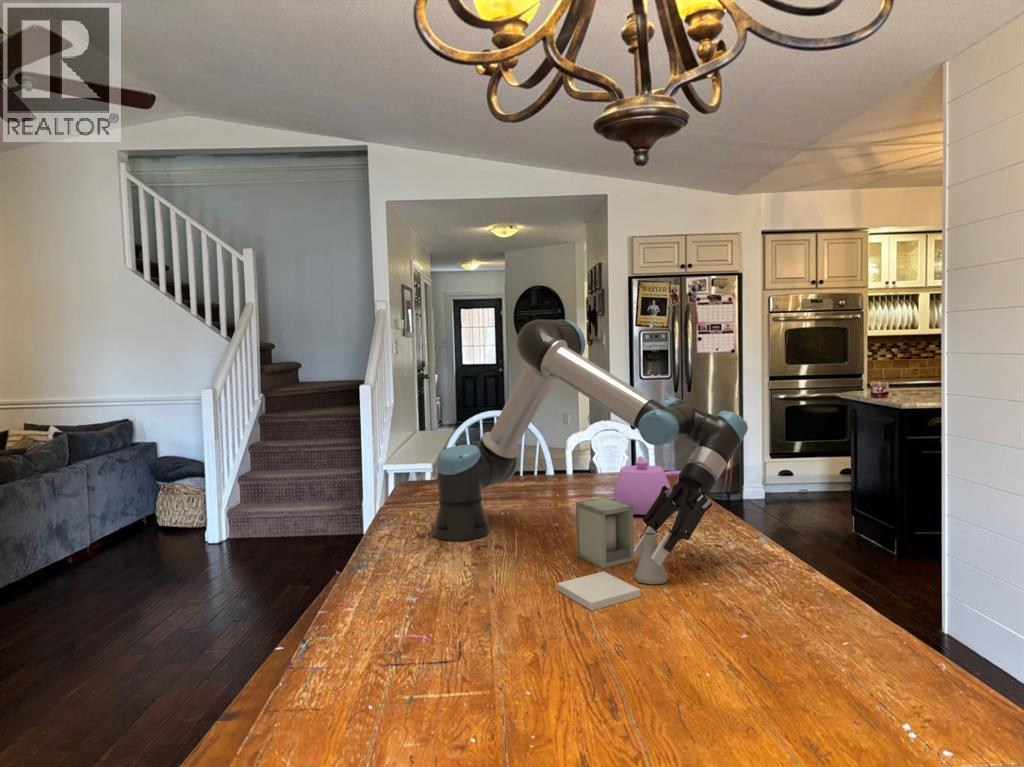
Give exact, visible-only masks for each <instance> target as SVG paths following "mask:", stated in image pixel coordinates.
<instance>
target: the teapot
mask: <svg viewBox="0 0 1024 767" xmlns="http://www.w3.org/2000/svg"><path fill="white" fill-rule="evenodd" d="M681 471H682V470H669V471H665V470H664V468H663V467H662V466H660V465H649V461H647V460H645V459H644V457H643V456H638V457H637V461H635V465H624V466H622V467H621V468H620V470H619V473H618V475H617V478H616V481H615V483H614V488H613V493H612V494H613V496H612V499H614V500H617V501H620V502H623V503H627V504H630V505H633V516H636V515H642V516H643V515H644V516H645V515H646V514H647V512H648V511H649V509H650V508H651V506H652V505H653V503H654V502H655V500H656V499H657V497H658V496H659V494H660V492H661V489H662V487H663V486H666V487H667V488H672V487H671V485H670V482H669V479H668V477H669V476H670V477H671V476H674V477H676V480H675V484H677V483H678V481H679V474H680V472H681ZM675 484H674V485H675Z"/></svg>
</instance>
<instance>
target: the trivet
mask: <svg viewBox="0 0 1024 767" xmlns="http://www.w3.org/2000/svg"><path fill="white" fill-rule="evenodd" d="M556 588H557V589H556V590H557V592H559V593H561V594H562V595H564V596H566V597H568V598H569V599H571V600H573V601H575V602H576V603H578V604H579V605H581V606H583V607H584V608H586V609H587V610H589V611H596V610H599V609H602V608H606V607H609V606H613V605H617V604H620V603H623V602H627V601H630V600H634V599H637V598H640V597H641V589H640V588H639V587H636V586H634V585H632V584H631V583H628V582H626V581H624V580H622V579H620V578H618V577H616V576H613V575H612V574H610V573H608V572H606V571H600V572H596V573H593V574H588V575H585V576H584V575H583V576H580V577H576V578H574V579H569V580H564V581H560V582H557V583H556Z"/></svg>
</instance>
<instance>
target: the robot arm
mask: <svg viewBox="0 0 1024 767" xmlns="http://www.w3.org/2000/svg"><path fill="white" fill-rule="evenodd" d="M516 348H517V351H518V354H519V356H520V358H521V359H522V360H523V361H524V362H525V363H526V366H525V367H524V369H523V371H522V373H521V375H520V376H519V378H518V380H517V382H516V384H515V386H514V387H513V390H512V391H511V393H510V395H509V397H508V399H507V400H506V403H505V405H504V407H503V408H502V410H501V412H500V414H499V415H498V418H497V419H496V421H495V423H494V425H493V427H492V428H491V431H486V432H484V433H483V434H482V436H481V438H480V440H479V442H478V444H477V445H475V444H458V445H457V446H456V445H454V446H451V447H447V448H444V449H442V450H441V451H440V452H439V453H438V455H437V465H436V471H437V486H438V510H437V514H436V518H435V520H434V525H433V536H434V537H435V538H437V539H438V540H442V541H450V542H452V541H453V542H459V541H460V542H462V541H463V542H464V541H473V540H476V539H481V538H482V537H485V536H487V535H488V534H489V533H490V523H489V520H488V517H487V515H486V512H485V508H484V506H483V502H482V497H483V496H482V490H483V489H486V488H488V487H489V488H490V487H491V486H495V485H500V484H502V483H504V482H506V481H507V480H509V479H511V478H512V477H513V476H514V474H515V473H516V471H517V469H518V466H519V465H518V464H519V460H518V458H519V454H520V450H519V447H518V446H519V443H521V440H522V438H523V436H524V434H525V433H526V430H528V428H529V426H530V424H531V422H532V421H533V419H534V416H535V415H536V414H537V411H538V409H539V408H540V406H541V404H542V403H543V401H544V399H545V397H546V396H547V394H548V393H549V390H550V388H551V387H552V385H553V383H554V381H556V380H557V379H558V380H560V381H561V382H563V383H564V384H566V385H567V386H569V387H570V388H572V389H574V390H575V391H577V392H578V393H580V394H582V395H583V396H585V397H587V398H588V399H589V400H590V401H593V403H595V404H598V406H601V407H602V409H603V408H604V409H605V410H607V411H609V412H610V413H611V414H613V415H615V416H616V417H617V418H619V419H621V420H622V421H624V422H625V423H627V424H629V425H630V426H632V427H633V428H634V429H637V431H638V432H639V435H640V437H641V439H643V441H644V442H645V443H648V444H649V445H651V446H661V445H662V446H663V445H667V444H670V443H672V442H674V441H676V440H678V439H681V438H685V439H688V441H691V442H693V443H695V444H697V446H696V448H695V449H694V451H693V452H692V454H691V455H690V456H689V458H688V459H687V463H685V464H684V466H683V467H682V469H681V470H680V471H681V472H680V474H679V481H678V483H677V484H674V485H673V486H672V487H671V488H667V487H666V486H663V487H662V489H661V492H660V494H659V496H658V497H657V499H656V500H655V502H654V503H653V505H652V506H651V508H650V509H649V511H648V512H647V514H646V515H644V517H643V518H642V521H643V523H644V524H645V525H646V527H645V528H644V530H643V531H642V533H641V534H640V536H639V540H638V541H637V543H636V545H635V546H634V549H633V551H634V554H636V555H637V557H639V559H640V558H641V555H642V552H643V547H644V536H643V533H644V532H647V531H652V532H656V533H658V534H659V532H658V530H659V529H660V527H662V525H663V524H664V523H665V522H667V520H668V519H669V518H670V517H671V516H672V515H673V514H674V513H675V512H676V511H677V515H676V518H675V520H674V521H673V522H674V523H673V526H672V528H671V529H668V532H666V533H665V535H664V536H663V537H662V539H661V541H660V543H659V544H658V545H657V549H656V550H655V552H654V553H653V555H652V557H651V559H652V560H653V561H654V562H655V563H656V564H657V565H659V566H661V564H662V563H663V562H664V561H665V559H666V557H667V556H668V555H669V554H670V553H672V551H673V550H674V548H675V547H676V545H677V544H678V542H680V541H681V540H684V541H689V540H690V538H691V537H692V535H693V533H694V531H695V530H696V528H697V527H698V525H699V523H700V522H701V521H702V518H703V517H704V515H705V514H706V512H707V511H708V510H709V509H710V508H712V506H713V503H712V501H710V500H709V498H708V497H707V495H709V494H710V493H711V491H712V489H713V488H714V487H715V485H716V480H718V479H719V478H720V476H721V475H722V473H723V472H724V470H725V468H726V467H727V465H728V463H729V462H730V461H731V458H733V456H734V454H735V453H736V451H737V450H738V448H739V447H740V446H741V444H742V442H743V439H744V437H745V436H746V434H747V432H748V430H749V427H748V423H747V421H745V419H744V418H743V417H742V416H741V415H739V414H737V413H736V412H733V411H728V410H721V411H720V412H719V413H718V414H716V415H713V414H710V413H709V412H707V411H704V410H702V409H701V408H698V407H696V406H695V405H692V404H691V403H688V402H686V401H685V400H683V399H679V398H676V397H674V396H667V397H666V398H664V400H663V401H662V402H661V403H659V402H658V401H656V400H654V399H653V398H652V397H650V396H649V395H647V394H645V393H643V392H642V391H640V390H639V389H637V388H635V387H634V386H632V385H630V384H629V383H627V382H626V381H624V380H622V379H621V378H618V377H617V376H615V375H614V374H612V373H611V372H609V371H607V370H606V369H604V368H602V367H600V366H599V365H598V364H596V363H594V362H593V361H592V360H591V361H590V360H589V359H587V358H585V357H584V356H583V354H584V353H585V349H586V339H585V336H584V332H583V330H582V329H581V328H580V326H579V325H578V324H577V323H575V322H573V321H572V320H565V319H534V320H531V321H529V322H527V323H526V324H524V325H523V327H522V328H521V329H520V331H519V332H518V335H517V339H516Z"/></svg>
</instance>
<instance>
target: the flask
mask: <svg viewBox="0 0 1024 767" xmlns="http://www.w3.org/2000/svg"><path fill="white" fill-rule="evenodd" d="M642 533H643V532H642ZM643 536H644V547H643V552H642V555H641V558H640V557H639V562H638V564H637V567H636V570H635V573H634V576H633V578H634V579H635V580H636V582H637V583H641V584H647V585H660V584H665V583H666V582H667V581H668V580H669V576H668V572H667V571H666V568H665V565H664V564H663V563H662V564H661V566H659V565H657V564H656V563H655V562H654V561H653V560H652V559H651V557H652V555H653V553H654V552H655V550H656V549H657V547H658V541H657V537H658V536H659V532H658V533H656V532H652V531H647V532H644V533H643Z"/></svg>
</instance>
